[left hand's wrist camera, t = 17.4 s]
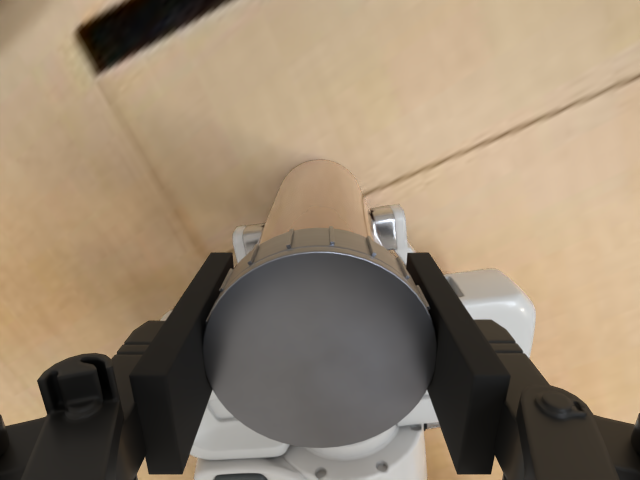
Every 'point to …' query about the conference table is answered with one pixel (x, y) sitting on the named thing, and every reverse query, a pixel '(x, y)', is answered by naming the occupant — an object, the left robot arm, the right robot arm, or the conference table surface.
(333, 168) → the jar
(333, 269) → the lid
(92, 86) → the conference table surface
